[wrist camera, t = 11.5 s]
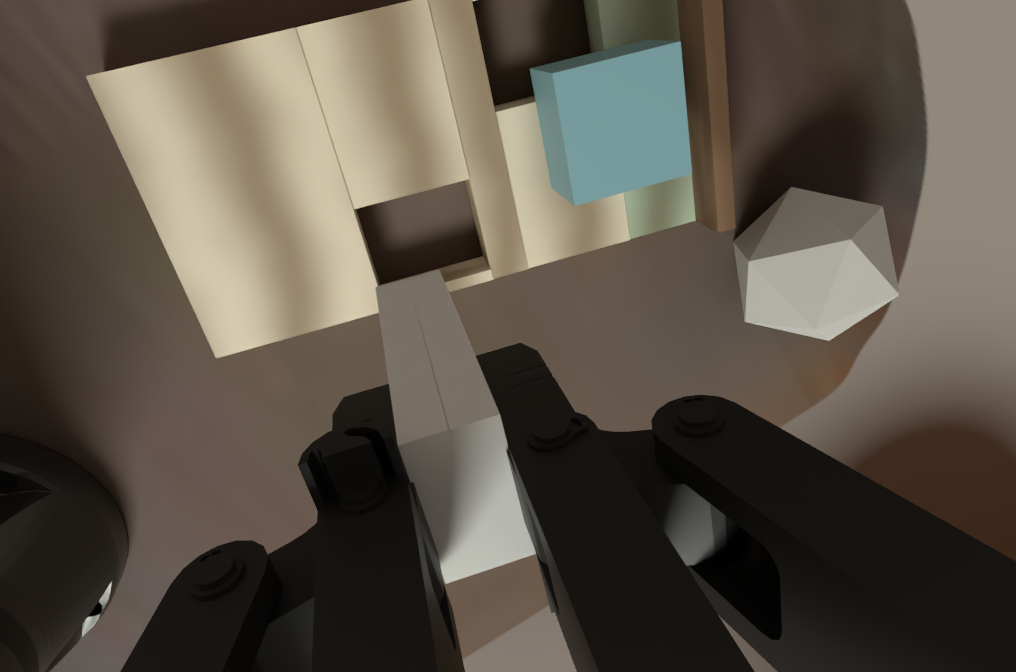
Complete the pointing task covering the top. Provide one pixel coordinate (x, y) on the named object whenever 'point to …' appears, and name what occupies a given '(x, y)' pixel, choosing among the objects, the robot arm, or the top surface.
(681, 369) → the top surface
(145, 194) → the trap board
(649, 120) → the block
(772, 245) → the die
